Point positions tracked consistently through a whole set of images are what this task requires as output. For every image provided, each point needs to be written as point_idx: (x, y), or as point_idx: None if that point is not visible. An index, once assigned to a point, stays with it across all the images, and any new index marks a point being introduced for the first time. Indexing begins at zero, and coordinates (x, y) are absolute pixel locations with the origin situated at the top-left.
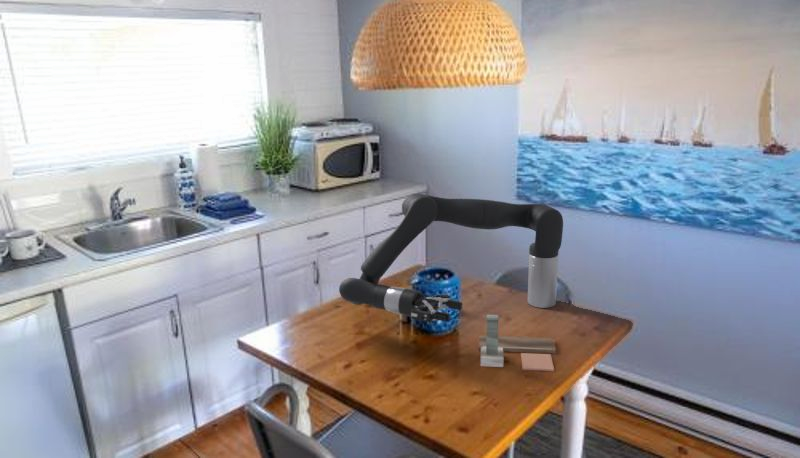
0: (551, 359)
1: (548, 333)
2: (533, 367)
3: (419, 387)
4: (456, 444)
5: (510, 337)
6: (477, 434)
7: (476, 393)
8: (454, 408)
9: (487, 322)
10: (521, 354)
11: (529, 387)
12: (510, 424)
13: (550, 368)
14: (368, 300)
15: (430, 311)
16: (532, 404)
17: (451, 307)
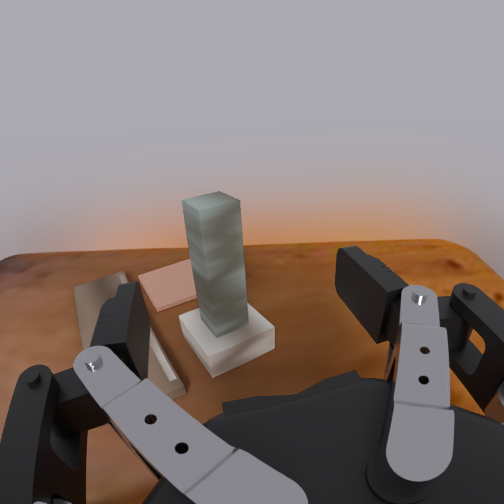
0: (158, 269)
1: (41, 308)
2: None
3: None
4: (473, 256)
5: (86, 344)
6: (439, 252)
7: None
8: (444, 293)
9: (239, 211)
10: (162, 305)
11: (278, 261)
12: (385, 243)
13: None
14: None
15: (436, 321)
16: (320, 245)
17: (145, 369)
